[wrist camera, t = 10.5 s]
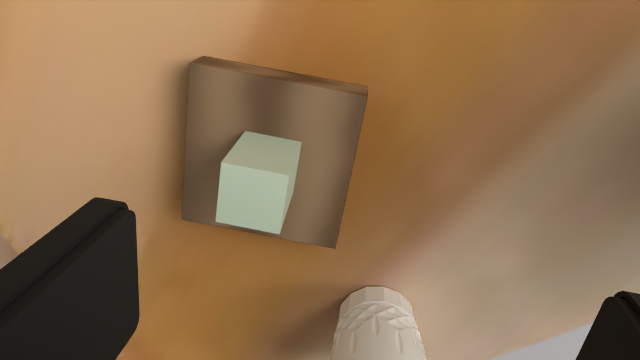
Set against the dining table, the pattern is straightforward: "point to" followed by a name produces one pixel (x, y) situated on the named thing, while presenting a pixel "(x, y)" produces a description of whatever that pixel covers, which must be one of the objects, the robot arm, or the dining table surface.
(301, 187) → the walnut base
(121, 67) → the dining table surface
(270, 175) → the sage block
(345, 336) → the white cup
